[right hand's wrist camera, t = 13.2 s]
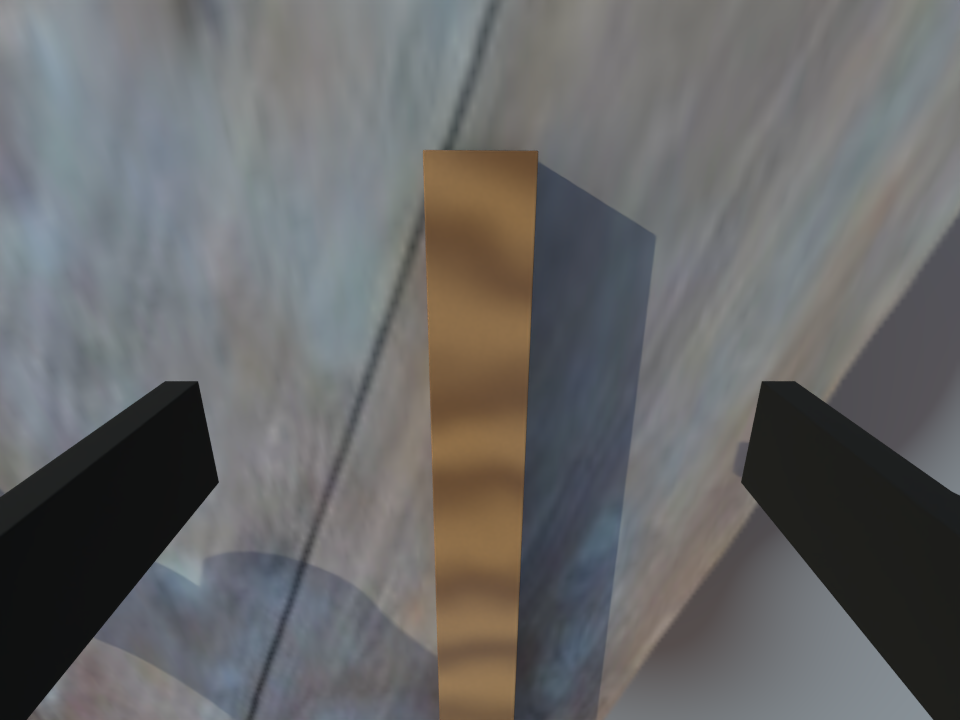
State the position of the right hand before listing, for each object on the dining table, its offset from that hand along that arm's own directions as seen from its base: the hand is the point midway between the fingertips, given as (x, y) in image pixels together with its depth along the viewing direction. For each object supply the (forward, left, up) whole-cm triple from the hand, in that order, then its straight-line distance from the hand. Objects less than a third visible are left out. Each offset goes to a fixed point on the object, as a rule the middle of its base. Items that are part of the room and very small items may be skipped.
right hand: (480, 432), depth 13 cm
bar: (+2, +20, -24) cm, 32 cm away
